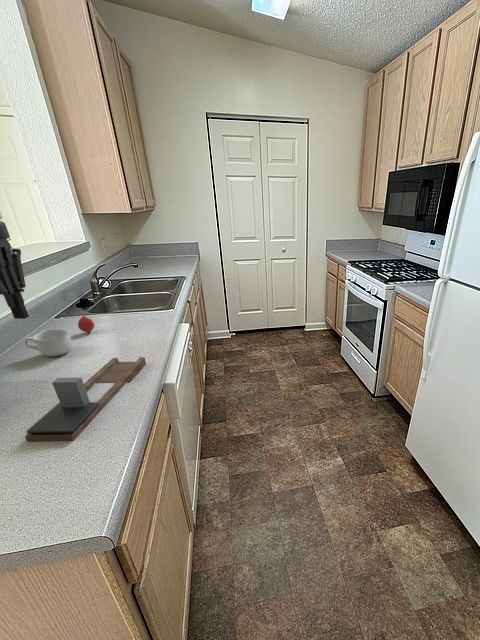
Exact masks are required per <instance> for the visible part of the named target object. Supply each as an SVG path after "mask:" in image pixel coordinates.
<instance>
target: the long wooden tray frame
mask: <svg viewBox="0 0 480 640" xmlns="http://www.w3.org/2000/svg"><path fill="white" fill-rule="evenodd" d="M146 365H147V362H146V357H145V356H144V357H143V356H141V357H139V358H138V359H137V360H136V361H119V358H118V357H112V358H111V359H110V360H108V362H106V364H104V365H103V366H102V367H101V368H100V369H98V370H97V371H96V372H95V373H94V374H93V375H92V376H90V378H88V379H87V381H85V382H83V384H84V387H85V390H86V392H87V393H88V391H89V390H90V389H92V387H94V386H95V384H113V385H112V386H111V387H110V388H109V389H108V390H107V391H106V392H105V393H104V394H103V396H101V398H99V399H98V401H97V402H99V405H98V406H97V407H96V408H95V409H94V410H93V411H92V412H91V413H90V414H89V415H88V416H87V417H86V418H85V419H84V421H83V422H82V423H81V424H80V425H79V426H78V427H77V428H76V429H75V430H74V431H73V432H72V433H67V434H41V433H27V434H26V435H24V438H25V441H26V442H29V443H30V442H32V443H33V442H36V443H37V442H74V441H75V440H76V439H77V438H78V437H79V436H80V435H81V433H82V432H84V430H85V429H86V428H87V427H88V426H89V424H90V423H91V422H92V421H94V419H95V418H96V417H97V416H98V415H99V414H100V413H101V411H102V410H103V409H104V408H105V407H106V406H107V405H108V403H110V401H111V400H112V399H113V398H114V397H115V396H116V395H117V394H118V393H119V392H120V391H121V389H122V388H123V387H124V386H125V385H126V384H130V383H131V382H132V380H133V379H134V378H136V376H138V374H139V373H140V372H141V370H142V369H144V367H145V366H146Z"/></svg>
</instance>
